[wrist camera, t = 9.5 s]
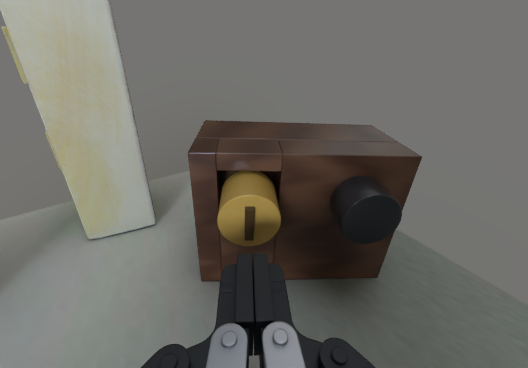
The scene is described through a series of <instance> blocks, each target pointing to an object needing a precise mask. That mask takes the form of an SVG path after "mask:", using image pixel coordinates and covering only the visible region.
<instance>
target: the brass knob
mask: <svg viewBox="0 0 528 368" xmlns="http://www.w3.org/2000/svg"><path fill="white" fill-rule="evenodd" d="M217 224H218V228H219V230H220V232H221V234H222V235H223V236H224V237H225V238H226V239H227V240H229V241H230V242H232V243H234V244H237V245H241V246H256V245H260V244H263V243H265V242H267V241H268V240H270V239H271V238H272V237H274V235H275V234H276V233H277V232H278V230H279V227H280V224H281V215H280V210H279V205H278V201H277V196H276V191H275V187H274V184H273V182H272V181H271V180H270V179H269V177H267V176H266V175H265V174H263V173H261V172H258V171H239V172H237V173H235V174H233V175H231V176H230V177H229V178H228V179H227V180H226V181H225V183H224V185H223V187H222V192H221V198H220V205H219V211H218V217H217Z"/></svg>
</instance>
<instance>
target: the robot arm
mask: <svg viewBox="0 0 528 368" xmlns="http://www.w3.org/2000/svg"><path fill="white" fill-rule="evenodd" d="M253 335H254V355H259V358H260V368H375V367H374V366H373V365H372V364H371V363H370V362H369V361H368V360H366V359H365V358H364V357H363V356H362V355H361V354H360V353H359V352H357V351H356V350H355V349H354V348H353V347H352V346H351V345H349V344H348V343H347V342H346V341H344V340H342V339H339V338H329V339H327V340H325V341H324V342H323V343H322V342H319V341H315V340H312V339H309V338H306V337H305V336H303V335H302V334H300V333H299V332H298V331H297V330H296V328H295V327H294V325H293V323H292V318H291V313H290V307H289V301H288V296H287V291H286V284H285V278H284V273H283V270H282V269H281V267H280V266H279V264H278V263H268V256H267V253H253V255H252V253H237V264H226V266H225V267H224V269H223V271H222V272H221V279H220V289H219V299H218V309H217V319H216V326H215V329H214V331H213V332H212V334H211V335H210V336H209V337H208V338H207V339H206V340H205V341H203V342H202V343H199V344H197V345H194V346H192V347H189V348H187V349H185V347H183V346H181V345H179V344H170V345H167V346H165V347H163V348H161V349H160V350H158V351H157V352H156V353H155V354H154V355H153V356H152V357H151V358H150V359H149V360H148V361H147V362H146V363H145V364H144V365H143V366H142V367H141V368H249V356H253Z"/></svg>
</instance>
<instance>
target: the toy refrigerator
mask: <svg viewBox="0 0 528 368" xmlns="http://www.w3.org/2000/svg"><path fill="white" fill-rule="evenodd" d="M0 10H1V13H2V16H3V18H4V21H5V23H6V26H7V27H1V28H2V30H3V33H4V35H5V37H6V40H7V43H8V45H9V48H10V50H11V53H12V56H13V58H14V60H15V63H16V66H17V68H18V71H19V73H20V76H21V79H22V81H23V83H24V84H29V86H30V89H31V91H32V94H33V97H34V99H35V102H36V105H37V107H38V110H39V112H40V115H41V118H42V120H43V123H44V125H45V128H46V131H45V134H46V137H47V139H48V141H49V144H50V147H51V149H52V151H53V154H54V156H55V159H56V162H57V164H58V166H59V169H60V171H62V172H63V174H64V176H65V179H66V182H67V185H68V188H69V190H70V193H71V195H72V198H73V201H74V203H75V206H76V209H77V211H78V214H79V217H80V219H81V222H82V225H83V227H84V230H85V233H86V235H87V237H88V239H96V238H101V237H106V236H110V235H114V234H118V233H122V232H127V231H131V230H135V229H139V228H143V227H147V226H150V225H154V224H156V219H155V214H154V209H153V204H152V199H151V195H150V190H149V185H148V180H147V175H146V170H145V166H144V161H143V156H142V152H141V146H140V142H139V136H138V132H137V127H136V122H135V117H134V113H133V108H132V103H131V98H130V93H129V88H128V83H127V79H126V74H125V69H124V64H123V60H122V55H121V50H120V46H119V41H118V36H117V32H116V27H115V22H114V16H113V12H112V7H111V2H110V0H0Z"/></svg>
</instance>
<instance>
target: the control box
mask: <svg viewBox="0 0 528 368" xmlns="http://www.w3.org/2000/svg"><path fill="white" fill-rule="evenodd" d="M188 158H189V168H190V178H191V187H192V197H193V206H194V216H195V226H196V235H197V245H198V254H199V264H200V274H201V281H220V279H221V272H222V271H223V269H224V267H225V266H226V264H237V253H252V255H253V253H267V256H268V263H278V264H279V266H280V267H281V269H282V270H283V273H284V278H285V279H324V278H371V277H378V274H379V272H380V269H381V266H382V264H383V261H384V258H385V256H386V253H387V250H388V247H389V245H390V242H391V239H392V237H393V234H394V231H395V229H396V228H397V226H398V225H399V223H400V221H401V216H402V210H403V207H404V204H405V202H406V199H407V196H408V194H409V191H410V188H411V185H412V183H413V180H414V177H415V175H416V172H417V169H418V167H419V164H420V161H421V159H422V156H420V155H418V154H417V153H415V152H414V151H412V150H411V149H409V148H407V147H406V146H404V145H402V144H401V143H399V142H398V141H396V140H394V139H393V138H391V137H390V136H388V135H386V134H385V133H383V132H382V131H380V130H378V129H377V128H375V127H374V126H372V125H346V124H310V123H276V122H240V121H207V120H206V121H205V122H204V124H203V125H202V127H201V129H200V131H199V133H198V135H197V137H196V139H195V140H194V142H193V144H192V146H191V148H190V150H189V152H188ZM239 171H258V172H261V173H263V174H265V175H266V176H267V177H269V179H270V180H271V181H272V182H273V184H274V187H275V191H276V196H277V201H278V205H279V210H280V215H281V224H280V227H279V230H278V232H277V233H276V234H275V235H274V237H272V238H271V239H270V240H268V241H267V242H265V243H263V244H260V245H256V246H241V245H237V244H234V243H232V242H230V241H229V240H227V239H226V238H225V237H224V236H223V235H222V234H221V232H220V230H219V228H218V224H217V217H218V211H219V205H220V198H221V192H222V187H223V185H224V183H225V181H226V180H227V179H228V178H229V177H230V176H231V175H233V174H235V173H237V172H239Z"/></svg>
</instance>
